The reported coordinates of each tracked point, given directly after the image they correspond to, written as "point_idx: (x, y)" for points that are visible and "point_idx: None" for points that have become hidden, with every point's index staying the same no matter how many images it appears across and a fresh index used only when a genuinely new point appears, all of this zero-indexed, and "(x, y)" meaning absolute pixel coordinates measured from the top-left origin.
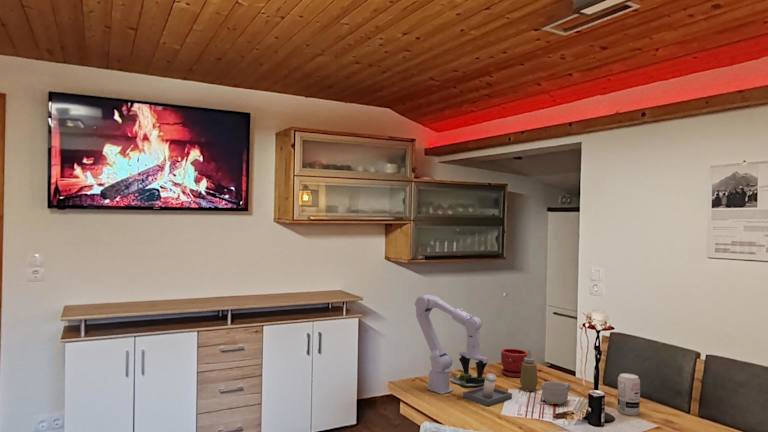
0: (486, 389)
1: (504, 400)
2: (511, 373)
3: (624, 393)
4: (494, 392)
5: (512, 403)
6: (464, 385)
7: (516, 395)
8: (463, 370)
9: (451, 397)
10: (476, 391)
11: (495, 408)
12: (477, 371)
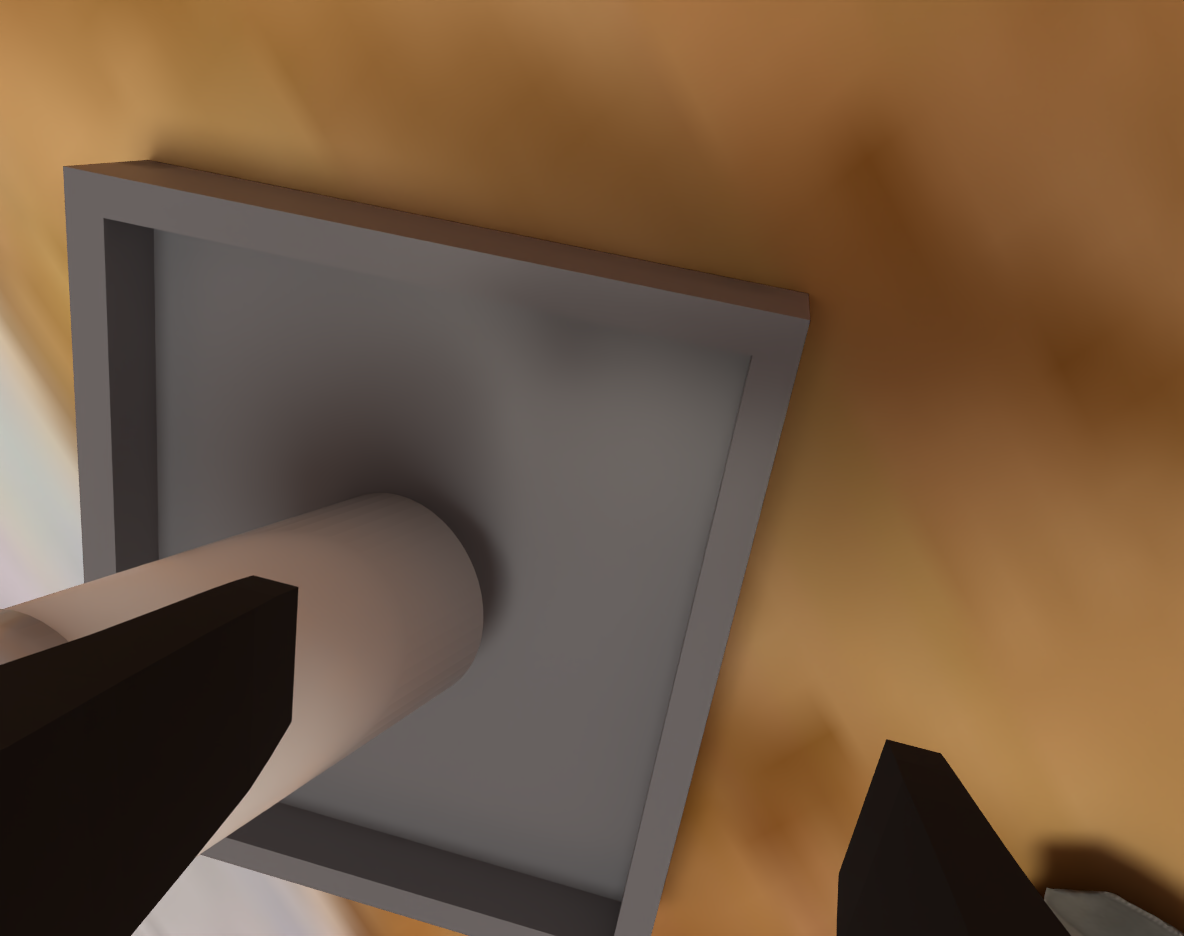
0: (259, 537)
1: None
2: None
3: None
4: (433, 823)
5: (29, 583)
6: (1092, 893)
7: (210, 921)
8: (997, 839)
9: (1070, 143)
10: (676, 668)
11: (24, 168)
12: (89, 676)
